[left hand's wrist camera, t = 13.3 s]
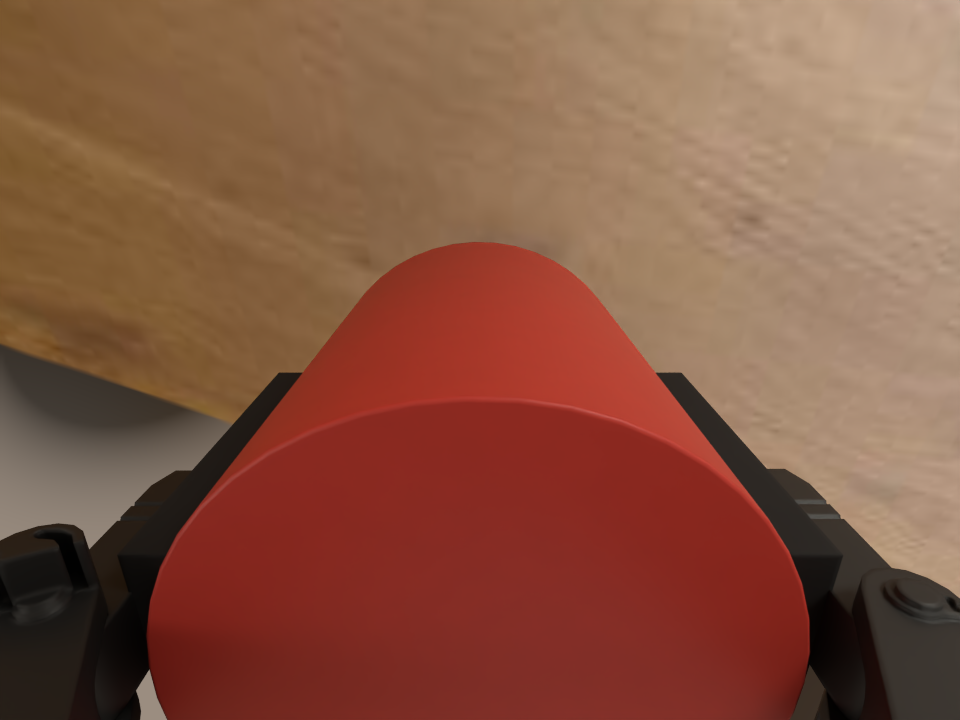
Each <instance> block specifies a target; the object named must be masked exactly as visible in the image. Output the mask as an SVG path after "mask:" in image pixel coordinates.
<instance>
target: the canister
mask: <svg viewBox="0 0 960 720" xmlns="http://www.w3.org/2000/svg"><path fill="white" fill-rule="evenodd" d="M147 648H148V660H149V669H150V673H151V676H152V680H153V684H154V688H155V691H156V695H157V698H158V701H159V703H160V705H161V707H162V709H163V712H164V714H165V716H166V718H167V720H790V718H791V717H792V715H793V713H794V710H795V708H796V705H797V702H798V699H799V696H800V694H801V691H802V688H803V685H804V682H805V676H806V670H807V664H808V659H809V653H810V642H809V615H808V610H807V605H806V601H805V596H804V591H803V586H802V582H801V580H800V577H799V575H798V572H797V570H796V567H795V565H794V562H793V560H792V557H791V555H790V553H789V550H788V549H787V547H786V546H785V544H784V542H783V541H782V539H781V538H780V536H779V535H778V533H777V531H776V530H775V528H774V527H773V525H772V523H771V522H770V520H769V519H768V517H767V516H766V515H765V514H764V512H763V511H762V510H761V508H760V507H759V506H758V505H757V503H756V502H755V501H754V499H753V498H752V497H751V496H750V494H749V493H748V492H747V490H746V489H745V488H744V487H743V485H742V484H741V483H740V481H739V480H738V479H737V477H736V476H735V475H734V474H733V472H732V471H731V470H730V468H729V467H728V466H727V465H726V463H725V462H724V461H723V459H722V458H721V457H720V456H719V454H718V453H717V452H716V450H715V449H714V448H713V446H712V445H711V444H710V443H709V441H708V440H707V439H706V437H705V436H704V435H703V434H702V432H701V431H700V430H699V428H698V427H697V426H696V425H695V423H694V422H693V421H692V419H691V418H690V417H689V416H688V414H687V413H686V412H685V410H684V409H683V408H682V406H681V405H680V404H679V403H678V401H677V400H676V399H675V397H674V396H673V395H672V394H671V392H670V391H669V390H668V388H667V387H666V386H665V385H664V383H663V382H662V381H661V379H660V378H659V377H658V376H657V374H656V373H655V372H654V370H653V369H652V368H651V366H650V365H649V364H648V363H647V361H646V360H645V359H644V357H643V356H642V355H641V354H640V352H639V351H638V350H637V348H636V347H635V346H634V345H633V343H632V342H631V341H630V339H629V338H628V337H627V335H626V334H625V333H624V332H623V330H622V329H621V328H620V326H619V325H618V324H617V323H616V321H615V320H614V319H613V317H612V316H611V315H610V314H609V312H608V311H607V310H606V308H605V307H604V306H603V305H602V303H601V302H600V301H599V299H598V298H597V297H596V296H595V295H594V294H593V292H592V291H591V290H590V289H589V288H588V287H587V286H586V285H585V284H584V283H583V282H582V281H581V280H580V279H578V278H577V277H576V276H575V275H574V274H573V273H571V272H570V271H569V270H567V269H566V268H564V267H562V266H561V265H559V264H558V263H556V262H555V261H553V260H551V259H548V258H546V257H544V256H542V255H540V254H538V253H535V252H532V251H529V250H526V249H523V248H519V247H516V246H511V245H505V244H499V243H484V242H471V243H461V244H452V245H448V246H444V247H439V248H435V249H432V250H429V251H427V252H424V253H421V254H419V255H416V256H414V257H412V258H410V259H408V260H406V261H405V262H403V263H401V264H399V265H397V266H396V267H394V268H393V269H392V270H390V271H389V272H388V273H386V274H385V275H383V276H382V277H381V278H380V279H379V280H378V281H377V282H376V283H375V284H374V285H373V286H372V287H371V288H370V289H369V290H368V291H366V293H365V294H364V295H363V297H362V298H361V299H360V300H359V302H358V303H357V304H356V306H355V307H354V308H353V309H352V311H351V312H350V313H349V314H348V316H347V317H346V318H345V320H344V321H343V322H342V323H341V325H340V326H339V327H338V329H337V330H336V331H335V332H334V334H333V335H332V336H331V337H330V339H329V340H328V341H327V343H326V344H325V345H324V346H323V348H322V349H321V350H320V351H319V353H318V354H317V355H316V357H315V358H314V359H313V360H312V362H311V363H310V364H309V366H308V367H307V368H306V369H305V371H304V372H303V373H302V374H301V376H300V377H299V378H298V380H297V381H296V382H295V383H294V385H293V386H292V387H291V388H290V390H289V391H288V392H287V394H286V395H285V396H284V397H283V399H282V400H281V401H280V403H279V404H278V405H277V406H276V408H275V409H274V410H273V411H272V413H271V414H270V415H269V417H268V418H267V419H266V420H265V422H264V423H263V424H262V426H261V427H260V428H259V429H258V431H257V432H256V433H255V434H254V436H253V437H252V438H251V440H250V441H249V442H248V443H247V445H246V446H245V447H244V448H243V450H242V451H241V452H240V454H239V455H238V456H237V457H236V459H235V460H234V461H233V463H232V464H231V465H230V466H229V468H228V469H227V470H226V471H225V473H224V474H223V475H222V477H221V478H220V479H219V480H218V482H217V483H216V484H215V485H214V487H213V488H212V489H211V491H210V492H209V493H208V494H207V496H206V497H205V498H204V500H203V501H202V502H201V503H200V505H199V506H198V507H197V509H196V510H195V511H194V513H193V514H192V515H191V517H190V518H189V519H188V521H187V522H186V523H185V524H184V526H183V527H182V528H181V530H180V531H179V532H178V534H177V535H176V537H175V539H174V541H173V543H172V545H171V547H170V549H169V551H168V553H167V555H166V557H165V559H164V561H163V563H162V565H161V566H160V569H159V573H158V576H157V579H156V583H155V586H154V590H153V593H152V596H151V600H150V607H149V616H148V626H147Z"/></svg>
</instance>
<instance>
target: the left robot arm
mask: <svg viewBox="0 0 960 720" xmlns="http://www.w3.org/2000/svg"><path fill="white" fill-rule="evenodd" d="M301 374H302V373H278V374H277V376H276V377H275V378H274V379H273V380H272V381H271V382H270V383H269V385H268V386H267V387H266V388H265V389H264V390H263V391H262V392H261V394H260V395H259V396H258V397H257V398H256V399H255V400H254V401H253V403H252V404H251V405H250V406H249V407H248V408H247V409H246V410H245V412H244V413H243V414H242V415H241V416H240V417H239V418H238V419H237V421H236V422H235V423H234V424H233V425H232V426H231V427H230V429H229V430H228V431H227V432H226V433H225V434H224V435H223V436H222V438H221V439H220V440H219V441H218V442H217V443H216V444H215V445H214V447H213V448H212V449H211V450H210V451H209V452H208V453H207V454H206V456H205V457H204V458H203V459H202V460H201V461H200V462H199V463H198V465H197V466H196V467H195V468H194V469H193V470H192V471H175V472H173V473H171V474H170V475H168V476H166V477H165V478H163V479H161V480H160V481H158V482H156V483H155V484H153V485H152V486H151V487H150V488H149V489H148V490H147V491H146V492H145V493H144V494H143V495H142V496H141V497H140V498H139V499H138V500H137V501H136V502H135V506H131V507H130V508H129V509H128V510H127V511H126V512H125V513H124V514H123V515H122V516H121V520H120V521H117V522H116V523H115V524H114V525H113V526H112V527H111V528H110V529H109V530H108V531H107V532H106V533H105V534H104V535H103V536H102V537H101V538H100V539H99V540H98V541H97V542H96V543H95V544H94V545H93V546H92V547H91V548H90V549H89V548H88V545H87V542H86V539H85V536H84V533H83V531H82V530H81V529H79V528H78V527H76V526H75V525H68V524H51V525H44V526H38V527H34V528H31V529H28V530H25V531H22V532H18V533H15V534H13V535H11V536H9V537H7V538H5V539H3V540H1V541H0V720H140V715H141V709H140V703H139V698H138V695H137V692H136V690H137V688H138V686H139V685H140V683H141V682H142V680H143V679H144V677H145V675H146V674H147V672H148V671H149V660H148V648H147V626H148V616H149V607H150V600H151V596H152V593H153V590H154V586H155V583H156V579H157V576H158V573H159V569H160V566H161V565H162V563H163V561H164V559H165V557H166V555H167V553H168V551H169V549H170V547H171V545H172V543H173V541H174V539H175V537H176V535H177V534H178V532H179V531H180V530H181V528H182V527H183V526H184V524H185V523H186V522H187V521H188V519H189V518H190V517H191V515H192V514H193V513H194V511H195V510H196V509H197V507H198V506H199V505H200V503H201V502H202V501H203V500H204V498H205V497H206V496H207V494H208V493H209V492H210V491H211V489H212V488H213V487H214V485H215V484H216V483H217V482H218V480H219V479H220V478H221V477H222V475H223V474H224V473H225V471H226V470H227V469H228V468H229V466H230V465H231V464H232V463H233V461H234V460H235V459H236V457H237V456H238V455H239V454H240V452H241V451H242V450H243V448H244V447H245V446H246V445H247V443H248V442H249V441H250V440H251V438H252V437H253V436H254V434H255V433H256V432H257V431H258V429H259V428H260V427H261V426H262V424H263V423H264V422H265V420H266V419H267V418H268V417H269V415H270V414H271V413H272V411H273V410H274V409H275V408H276V406H277V405H278V404H279V403H280V401H281V400H282V399H283V397H284V396H285V395H286V394H287V392H288V391H289V390H290V388H291V387H292V386H293V385H294V383H295V382H296V381H297V380H298V378H299V377H300V376H301ZM656 374H657V376H658V377H659V378H660V379H661V381H662V382H663V383H664V385H665V386H666V387H667V388H668V390H669V391H670V392H671V394H672V395H673V396H674V397H675V399H676V400H677V401H678V403H679V404H680V405H681V406H682V408H683V409H684V410H685V412H686V413H687V414H688V416H689V417H690V418H691V419H692V421H693V422H694V423H695V425H696V426H697V427H698V428H699V430H700V431H701V432H702V434H703V435H704V436H705V437H706V439H707V440H708V441H709V443H710V444H711V445H712V446H713V448H714V449H715V450H716V452H717V453H718V454H719V456H720V457H721V458H722V459H723V461H724V462H725V463H726V465H727V466H728V467H729V468H730V470H731V471H732V472H733V474H734V475H735V476H736V477H737V479H738V480H739V481H740V483H741V484H742V485H743V487H744V488H745V489H746V490H747V492H748V493H749V494H750V496H751V497H752V498H753V499H754V501H755V502H756V503H757V505H758V506H759V507H760V508H761V510H762V511H763V512H764V514H765V515H766V516H767V517H768V519H769V520H770V522H771V523H772V525H773V527H774V528H775V530H776V531H777V533H778V535H779V536H780V538H781V539H782V541H783V542H784V544H785V546H786V547H787V549H788V550H789V553H790V555H791V557H792V560H793V562H794V565H795V567H796V570H797V572H798V575H799V577H800V580H801V582H802V586H803V591H804V596H805V601H806V605H807V610H808V615H809V642H810V653H809V659H808V664H807V670H806V674H807V671H808V668H809V664H810V666H811V667H812V669H813V670H814V672H815V673H816V675H817V677H818V678H819V680H820V681H821V683H822V684H823V686H824V688H825V689H824V692H823V695H822V698H821V701H820V704H819V707H818V711H817V713H816V716H815V719H814V720H960V598H958V597H957V596H956V595H955V594H953V593H952V592H951V591H950V590H948V589H947V588H945V587H943V586H941V585H939V584H938V583H936V582H934V581H932V580H930V579H928V578H926V577H923V576H921V575H918V574H915V573H912V572H909V571H906V570H901V569H894V568H891V567H890V566H889V565H888V564H887V563H886V562H885V561H884V560H883V559H882V558H881V557H880V555H879V554H878V553H877V552H876V551H875V550H874V549H873V548H872V547H871V546H870V545H869V544H868V543H867V542H866V541H865V540H864V539H863V538H862V537H861V536H860V535H859V534H858V533H857V532H856V531H855V530H854V529H853V528H852V527H851V526H850V525H849V524H848V523H847V522H846V521H845V520H844V519H841V518H840V515H839V514H838V512H837V511H836V510H835V509H834V508H833V507H832V506H831V505H830V504H826V500H825V499H824V498H823V497H822V496H821V495H820V494H819V493H818V492H817V491H816V490H815V489H814V488H813V487H812V486H811V485H810V484H809V483H807V482H806V481H804V480H802V479H801V478H799V477H797V476H796V475H794V474H792V473H791V472H789V471H787V470H786V469H766V467H765V466H764V465H763V464H762V463H761V462H760V461H759V460H758V458H757V457H756V456H755V455H754V454H753V453H752V452H751V451H750V449H749V448H748V447H747V446H746V445H745V444H744V443H743V442H742V440H741V439H740V438H739V437H738V436H737V435H736V434H735V433H734V431H733V430H732V429H731V428H730V427H729V426H728V425H727V424H726V422H725V421H724V420H723V419H722V418H721V417H720V416H719V415H718V413H717V412H716V411H715V410H714V409H713V408H712V407H711V406H710V404H709V403H708V402H707V401H706V400H705V399H704V398H703V397H702V395H701V394H700V393H699V392H698V391H697V390H696V389H695V388H694V386H693V385H692V384H691V383H690V382H689V381H688V380H687V379H686V377H685V376H684V375H683V374H682V373H656ZM805 677H806V676H805Z"/></svg>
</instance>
